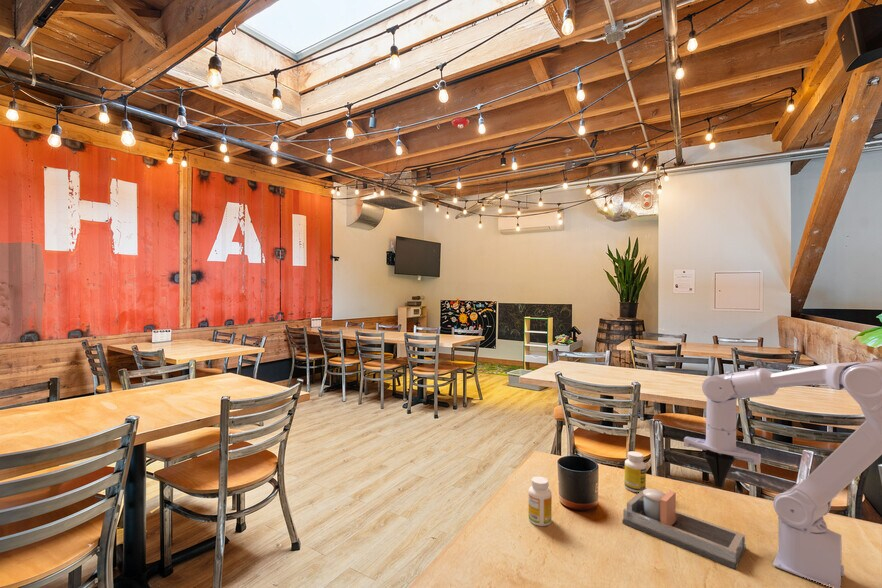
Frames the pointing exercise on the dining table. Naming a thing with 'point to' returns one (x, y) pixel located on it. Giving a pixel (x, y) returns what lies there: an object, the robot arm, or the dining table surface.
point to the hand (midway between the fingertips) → (719, 485)
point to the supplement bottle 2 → (635, 472)
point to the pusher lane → (689, 533)
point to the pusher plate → (668, 508)
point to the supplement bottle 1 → (540, 502)
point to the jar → (652, 503)
